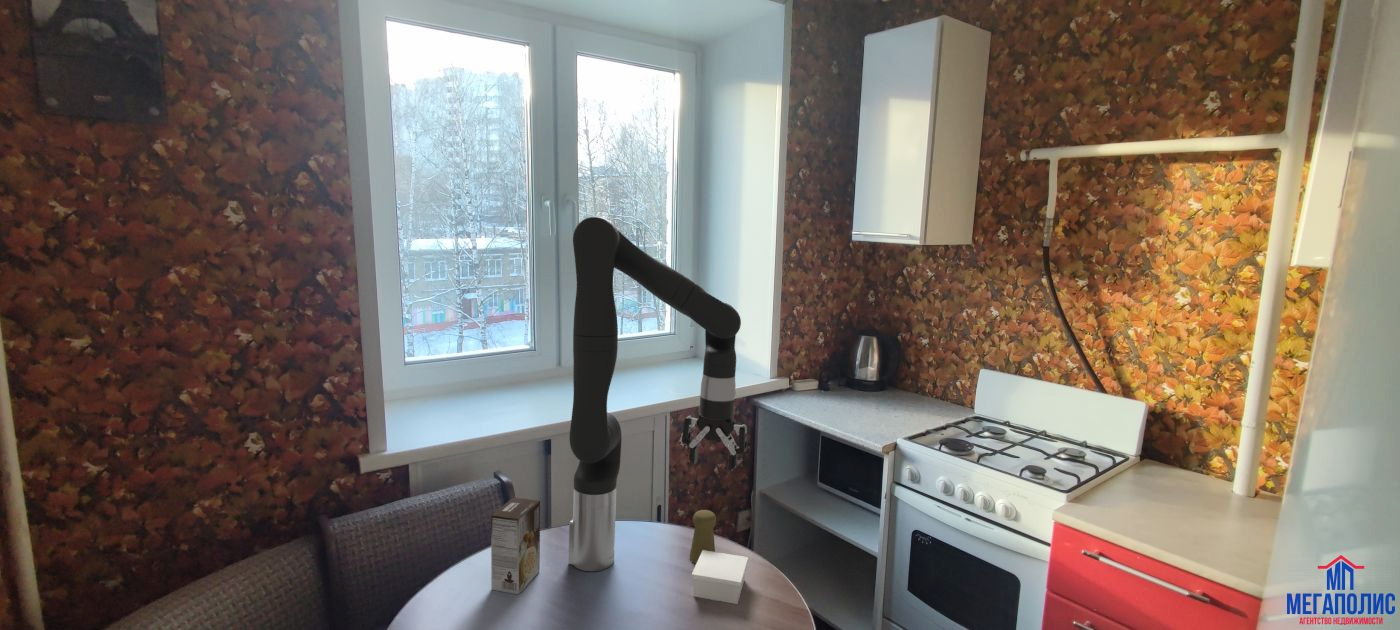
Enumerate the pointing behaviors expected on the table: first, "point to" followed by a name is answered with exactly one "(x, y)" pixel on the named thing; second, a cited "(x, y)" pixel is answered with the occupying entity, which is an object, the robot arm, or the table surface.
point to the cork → (702, 534)
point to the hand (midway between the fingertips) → (712, 466)
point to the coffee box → (515, 545)
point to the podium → (719, 576)
